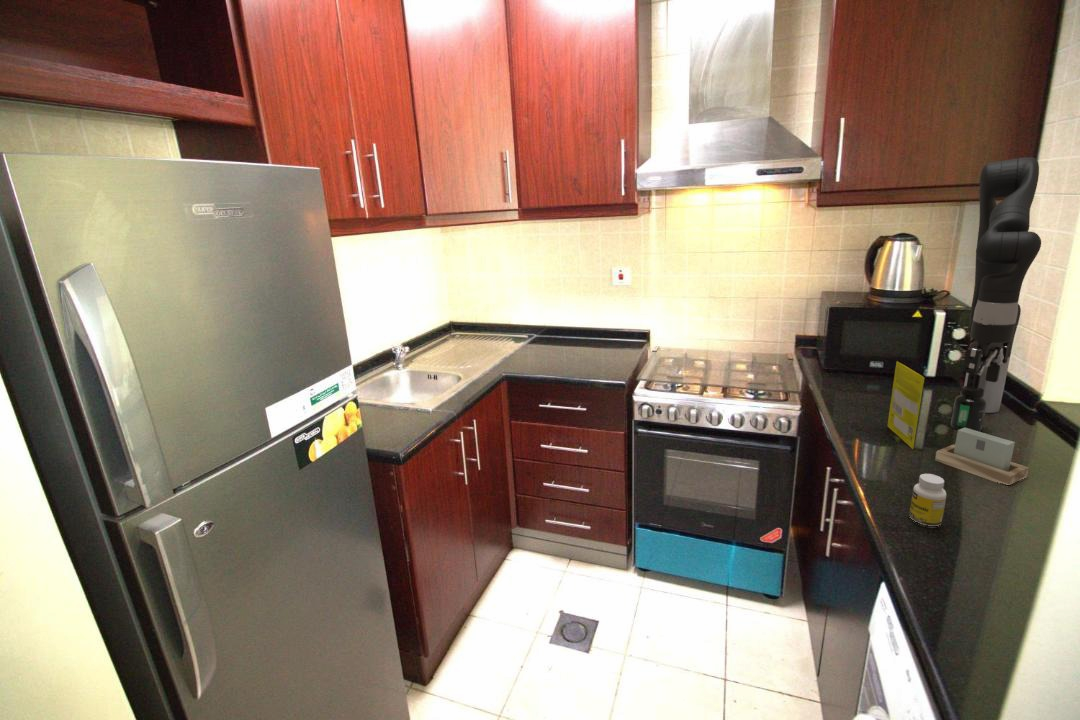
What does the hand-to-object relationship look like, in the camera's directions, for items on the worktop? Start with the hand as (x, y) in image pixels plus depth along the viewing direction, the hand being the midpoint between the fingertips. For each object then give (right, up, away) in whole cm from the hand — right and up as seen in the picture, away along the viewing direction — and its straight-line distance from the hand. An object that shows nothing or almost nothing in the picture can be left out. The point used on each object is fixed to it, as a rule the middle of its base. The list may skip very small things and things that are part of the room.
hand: (981, 385), depth 123 cm
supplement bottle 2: (+14, -14, +22) cm, 29 cm away
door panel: (0, -20, 0) cm, 20 cm away
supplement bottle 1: (-28, -27, -18) cm, 43 cm away
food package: (-7, -16, +19) cm, 25 cm away
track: (0, -20, 0) cm, 20 cm away
